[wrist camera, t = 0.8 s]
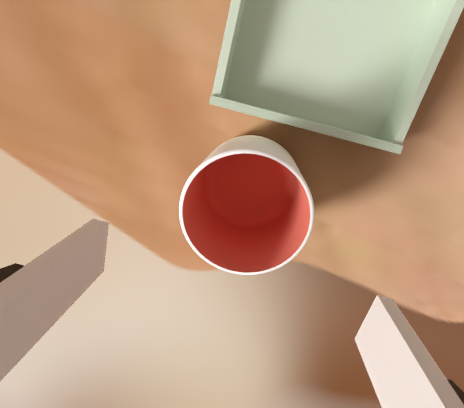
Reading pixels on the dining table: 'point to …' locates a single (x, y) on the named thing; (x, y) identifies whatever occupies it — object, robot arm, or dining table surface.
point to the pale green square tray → (334, 63)
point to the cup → (247, 207)
